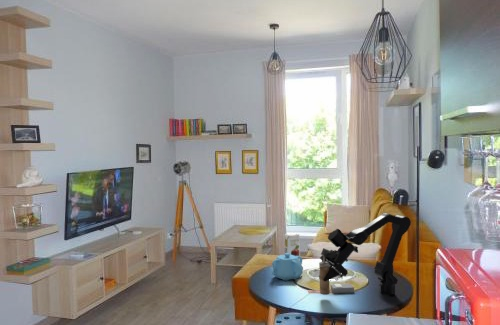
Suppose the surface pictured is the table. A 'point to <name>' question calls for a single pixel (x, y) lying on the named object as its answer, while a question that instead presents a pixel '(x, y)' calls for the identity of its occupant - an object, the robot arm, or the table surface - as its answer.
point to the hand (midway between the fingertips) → (321, 279)
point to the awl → (323, 271)
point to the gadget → (317, 273)
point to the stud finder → (342, 288)
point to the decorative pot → (287, 267)
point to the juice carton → (292, 244)
